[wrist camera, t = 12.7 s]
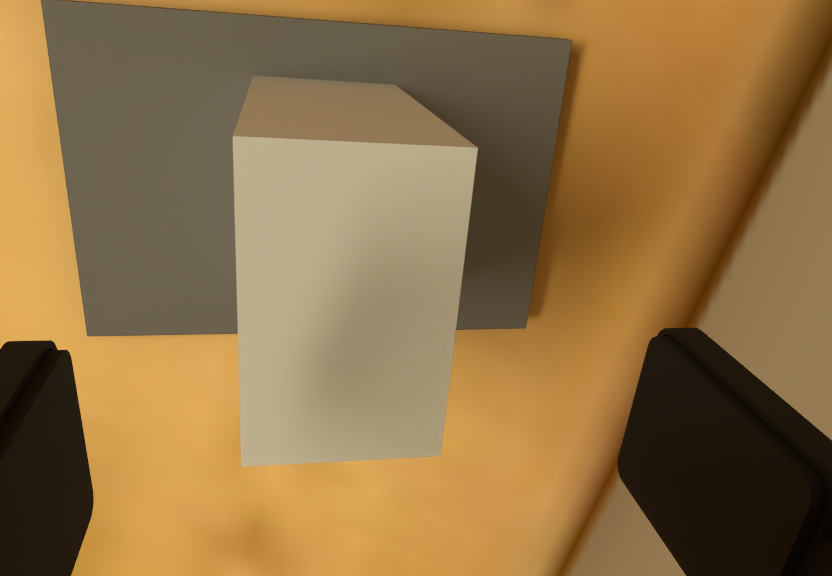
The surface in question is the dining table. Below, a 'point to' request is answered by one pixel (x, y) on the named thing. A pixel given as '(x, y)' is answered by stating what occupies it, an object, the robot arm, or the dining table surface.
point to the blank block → (346, 270)
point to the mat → (213, 147)
